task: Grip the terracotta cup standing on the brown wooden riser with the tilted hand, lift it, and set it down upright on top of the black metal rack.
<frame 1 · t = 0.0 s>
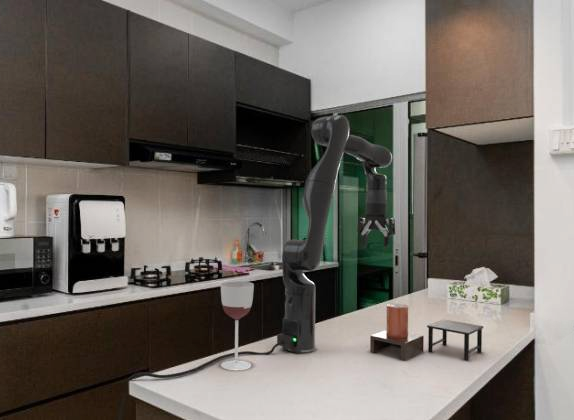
hand: (375, 246, 176), 29 cm above the worktop, tool pointing down, fingers open, 8 cm apart
wineglass: (236, 365, 129), on the worktop
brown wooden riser: (396, 352, 142), on the worktop
cup: (397, 335, 142), point 5 cm above the worktop, touching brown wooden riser
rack: (454, 352, 143), on the worktop
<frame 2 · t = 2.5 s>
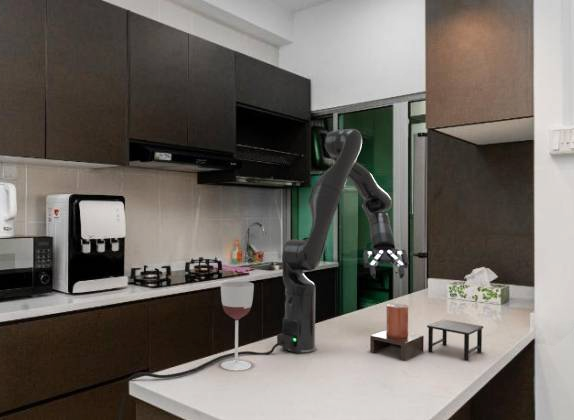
hand: (388, 277, 155), 21 cm above the worktop, tool tilted 40°, fingers open, 8 cm apart
nothing on the worktop moved.
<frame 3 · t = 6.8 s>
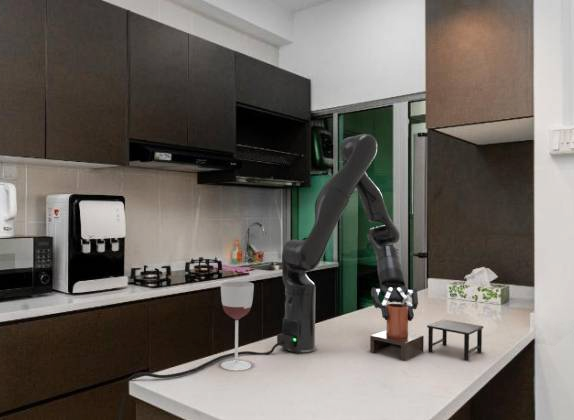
hand: (398, 319, 141), 10 cm above the worktop, tool tilted 45°, fingers closed on cup, 6 cm apart
cup: (397, 335, 142), point 5 cm above the worktop, touching gripper, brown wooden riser
everything else where it was.
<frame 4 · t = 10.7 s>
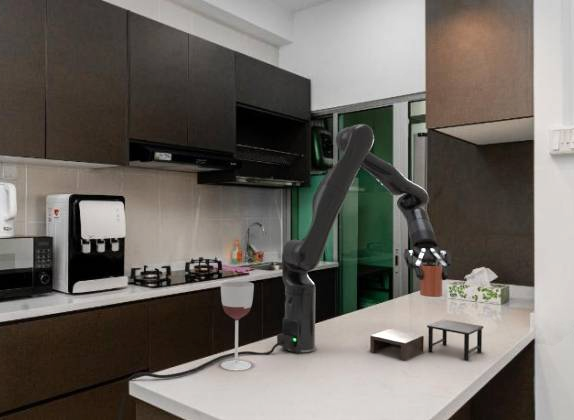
hand: (433, 278, 141), 22 cm above the worktop, tool tilted 45°, fingers closed on cup, 6 cm apart
cup: (431, 295, 143), point 17 cm above the worktop, touching gripper
everything else where it was.
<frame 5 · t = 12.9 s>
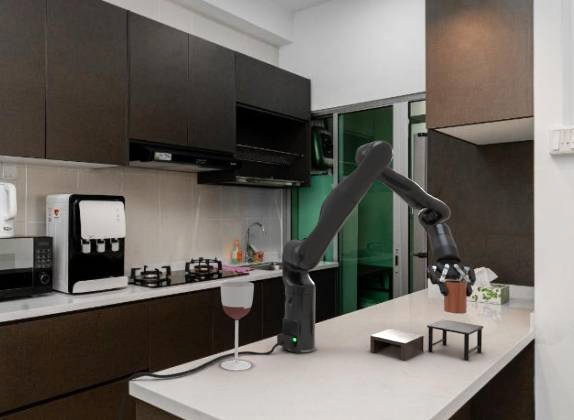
hand: (457, 294, 141), 18 cm above the worktop, tool tilted 45°, fingers closed on cup, 6 cm apart
cup: (455, 311, 143), point 12 cm above the worktop, touching gripper
everything else where it was.
when the fingers open (13 cm above the worktop, at t = 14.7 s): cup stays where it is, resting on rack.
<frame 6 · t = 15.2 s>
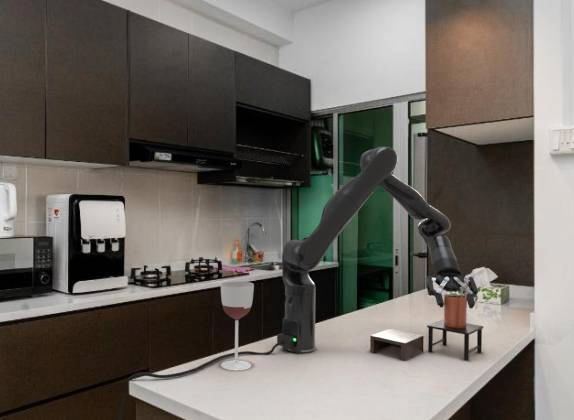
hand: (457, 306, 142), 14 cm above the worktop, tool tilted 45°, fingers open, 8 cm apart
cup: (455, 325, 143), point 8 cm above the worktop, touching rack
everything else where it was.
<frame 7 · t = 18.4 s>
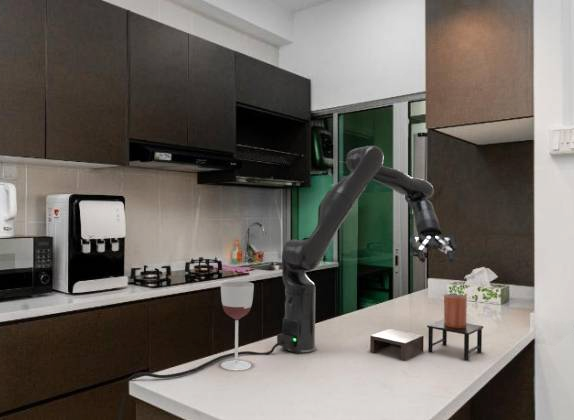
hand: (437, 261, 155), 26 cm above the worktop, tool tilted 45°, fingers open, 8 cm apart
nothing on the worktop moved.
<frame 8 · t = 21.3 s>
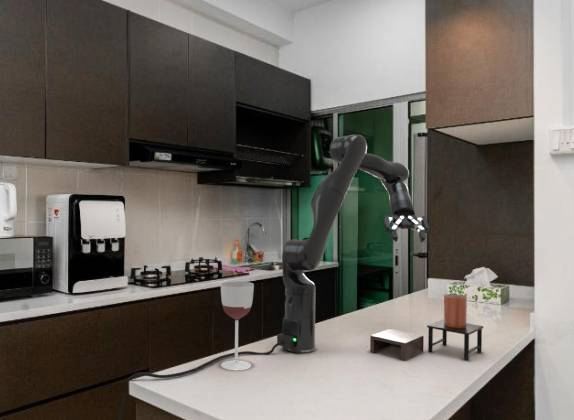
hand: (409, 240, 159), 33 cm above the worktop, tool tilted 45°, fingers open, 8 cm apart
nothing on the worktop moved.
at the end: cup 0.1 cm off-centre on the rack, point 8.0 cm above the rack's base; cup tilted 0°; the gripper is holding nothing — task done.
